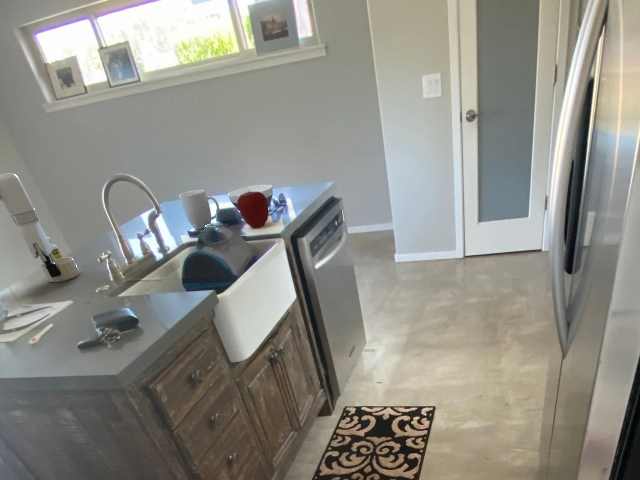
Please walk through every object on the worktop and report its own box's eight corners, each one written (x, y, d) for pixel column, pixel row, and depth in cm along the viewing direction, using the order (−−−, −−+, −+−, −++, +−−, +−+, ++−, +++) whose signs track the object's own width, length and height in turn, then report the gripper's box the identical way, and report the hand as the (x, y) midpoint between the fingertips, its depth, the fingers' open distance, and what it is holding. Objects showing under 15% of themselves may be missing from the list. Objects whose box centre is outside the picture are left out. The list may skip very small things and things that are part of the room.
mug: (220, 220, 230) (210, 186, 222) (226, 224, 223) (216, 189, 214) (187, 228, 226) (176, 194, 217) (193, 232, 218) (181, 197, 210)
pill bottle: (60, 274, 194) (43, 240, 186) (47, 275, 195) (29, 242, 188) (72, 268, 198) (55, 235, 191) (58, 269, 200) (41, 236, 192)
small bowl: (46, 285, 185) (37, 269, 181) (50, 277, 193) (42, 261, 189) (78, 278, 187) (70, 262, 183) (81, 270, 195) (73, 254, 191)
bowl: (265, 219, 220) (258, 194, 214) (226, 221, 226) (219, 197, 220) (285, 207, 233) (279, 183, 227) (248, 210, 239) (241, 186, 233)
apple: (277, 221, 214) (268, 184, 205) (265, 230, 206) (256, 191, 197) (251, 223, 218) (241, 187, 209) (239, 231, 209) (228, 194, 201)
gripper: (18, 216, 175) (49, 272, 187) (8, 225, 164) (41, 284, 176) (41, 211, 176) (70, 268, 188) (33, 220, 165) (64, 279, 177)
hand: (56, 275), depth 182 cm, fingers closed
